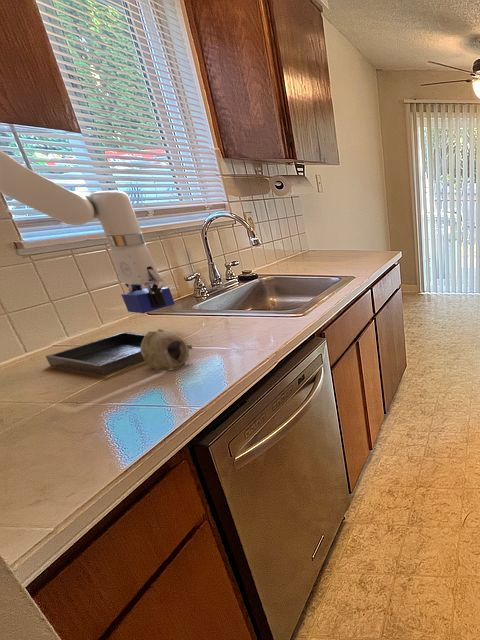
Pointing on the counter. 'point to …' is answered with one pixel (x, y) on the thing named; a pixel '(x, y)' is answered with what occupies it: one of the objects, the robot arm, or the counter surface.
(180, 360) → the beige rounded hollow piece
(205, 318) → the counter surface
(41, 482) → the counter surface
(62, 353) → the tray
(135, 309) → the blue block
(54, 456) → the counter surface
